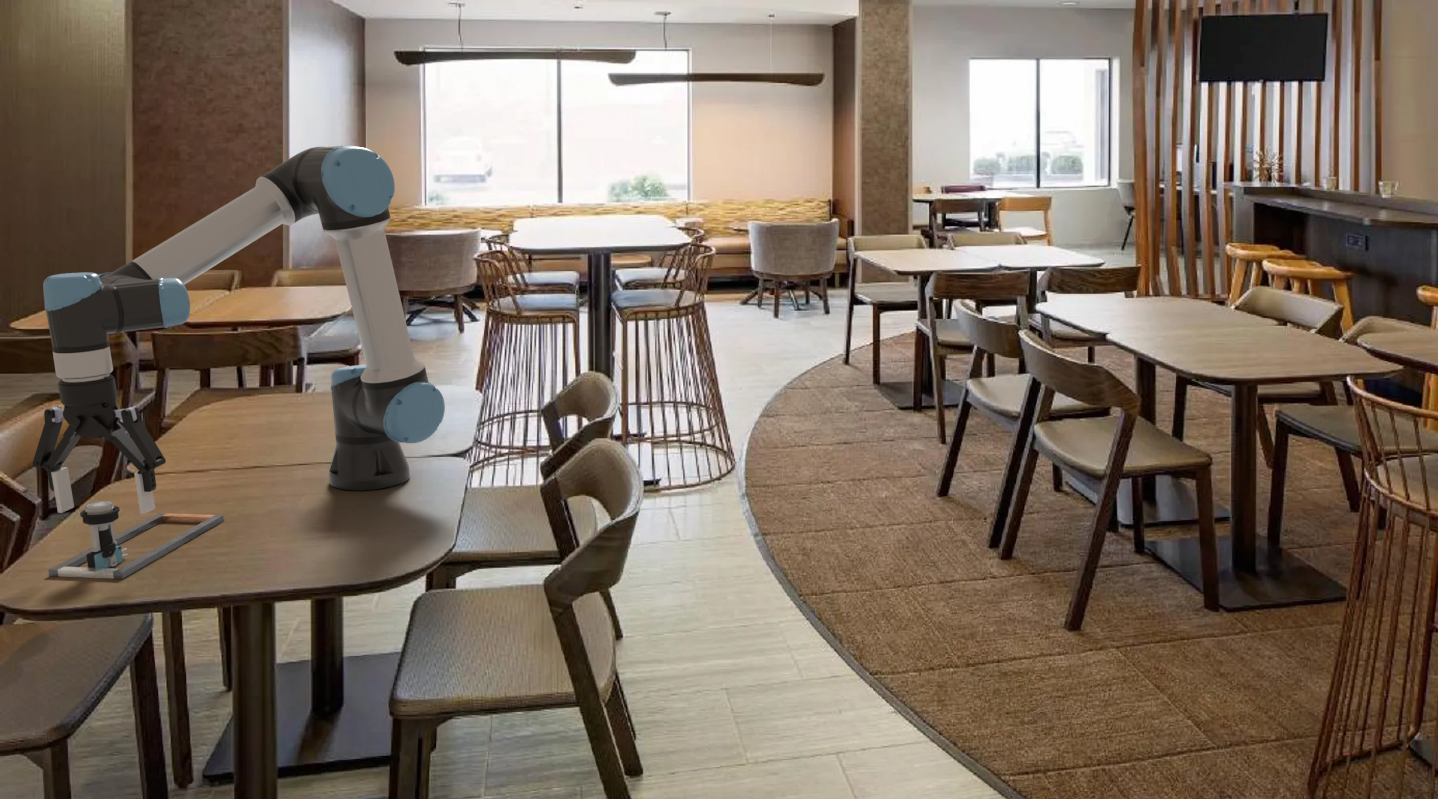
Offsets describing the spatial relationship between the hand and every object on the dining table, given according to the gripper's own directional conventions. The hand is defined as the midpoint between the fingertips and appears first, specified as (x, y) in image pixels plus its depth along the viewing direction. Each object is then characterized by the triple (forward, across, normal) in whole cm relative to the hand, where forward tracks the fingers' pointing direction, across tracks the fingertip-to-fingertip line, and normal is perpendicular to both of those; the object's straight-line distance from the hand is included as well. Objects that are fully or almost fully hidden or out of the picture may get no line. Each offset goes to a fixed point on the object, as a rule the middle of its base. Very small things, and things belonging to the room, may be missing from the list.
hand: (106, 510), depth 173 cm
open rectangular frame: (+9, 0, -8) cm, 12 cm away
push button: (+9, 0, +1) cm, 9 cm away
